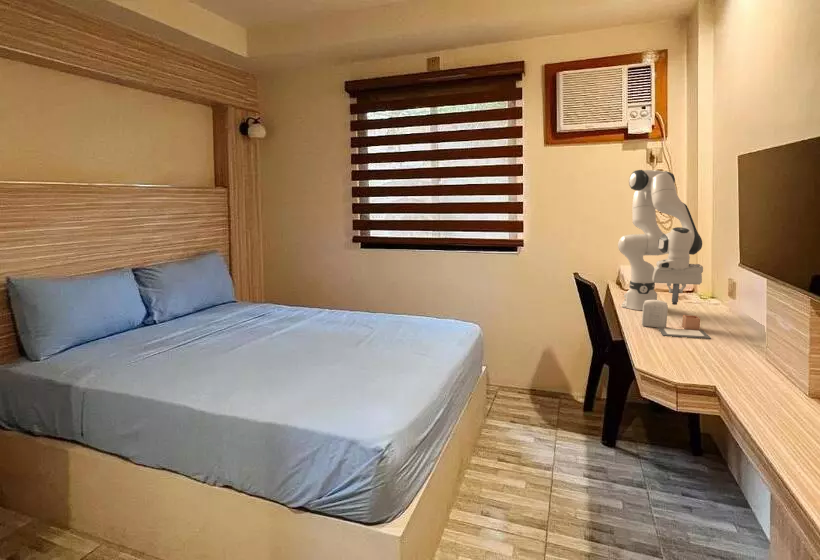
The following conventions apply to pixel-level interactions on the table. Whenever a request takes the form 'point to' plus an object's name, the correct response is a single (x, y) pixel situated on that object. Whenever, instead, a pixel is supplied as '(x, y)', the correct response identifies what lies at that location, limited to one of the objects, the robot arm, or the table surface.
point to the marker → (675, 294)
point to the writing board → (684, 333)
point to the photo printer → (655, 313)
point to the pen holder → (691, 322)
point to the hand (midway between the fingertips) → (675, 292)
